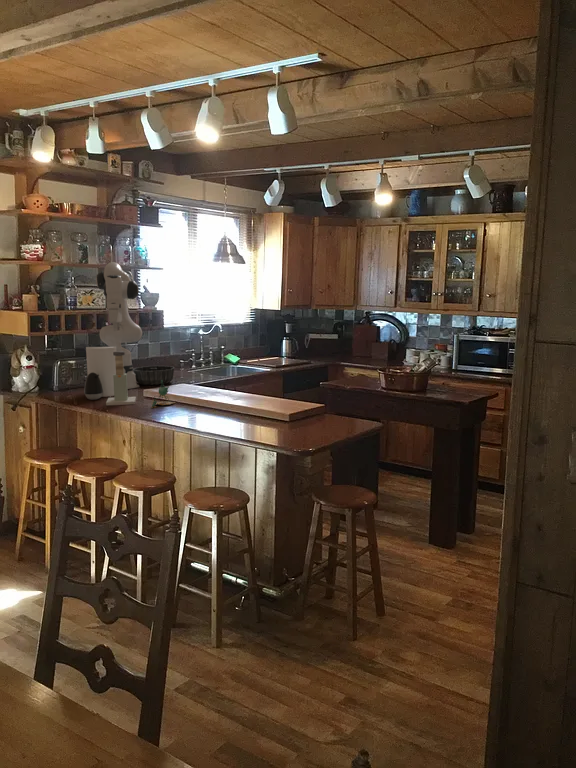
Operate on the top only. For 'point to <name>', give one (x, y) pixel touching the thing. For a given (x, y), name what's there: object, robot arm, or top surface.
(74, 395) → the top surface
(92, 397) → the dark grey egg shape
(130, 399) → the stand base
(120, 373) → the column
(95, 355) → the white tall block
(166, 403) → the frog figurine
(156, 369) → the bundt pan
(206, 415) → the top surface
